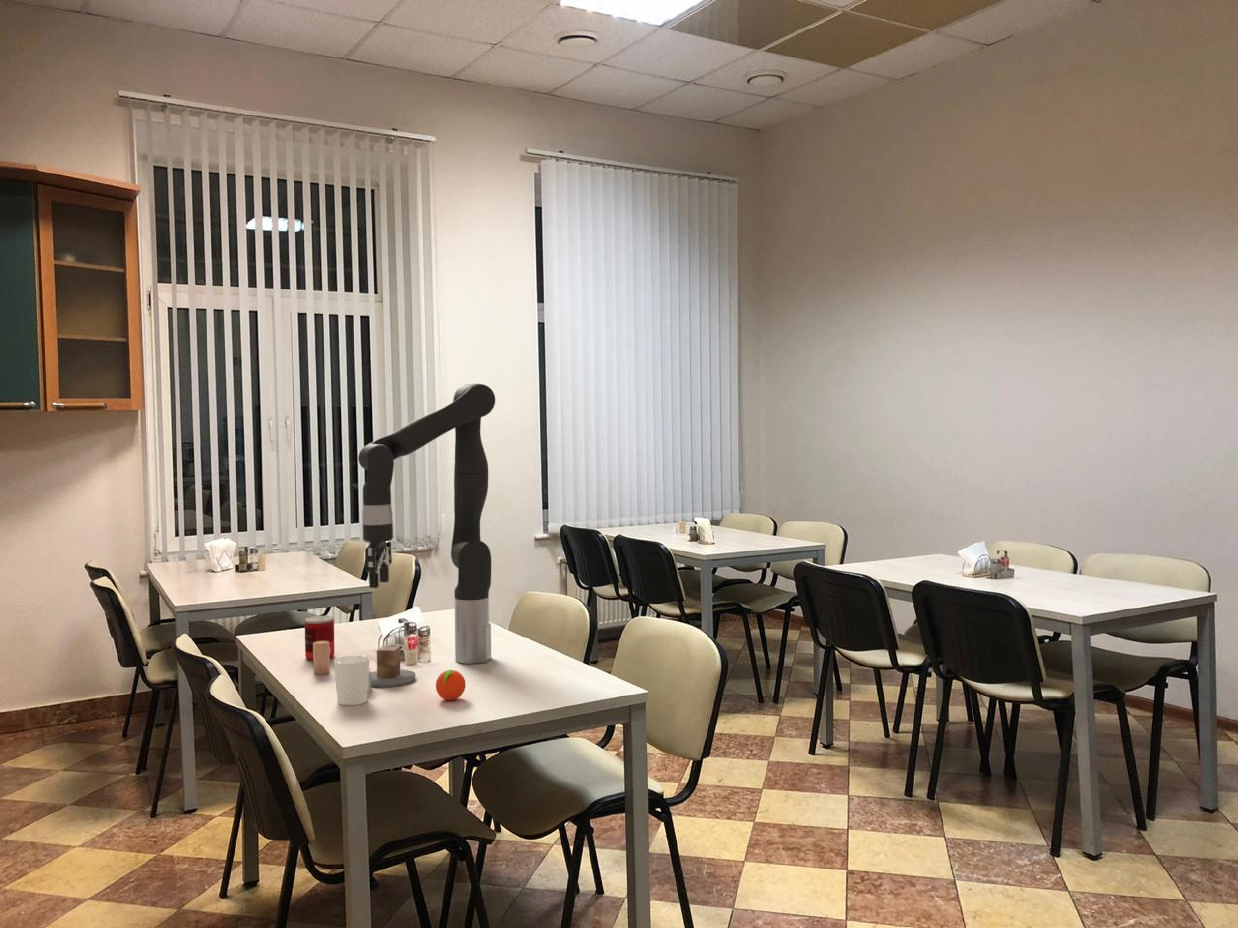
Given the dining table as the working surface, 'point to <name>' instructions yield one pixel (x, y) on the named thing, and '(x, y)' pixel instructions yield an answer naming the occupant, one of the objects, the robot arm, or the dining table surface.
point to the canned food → (319, 634)
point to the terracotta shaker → (321, 657)
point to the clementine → (450, 685)
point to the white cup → (352, 679)
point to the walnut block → (388, 662)
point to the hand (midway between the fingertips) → (379, 584)
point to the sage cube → (369, 681)
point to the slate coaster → (393, 679)
